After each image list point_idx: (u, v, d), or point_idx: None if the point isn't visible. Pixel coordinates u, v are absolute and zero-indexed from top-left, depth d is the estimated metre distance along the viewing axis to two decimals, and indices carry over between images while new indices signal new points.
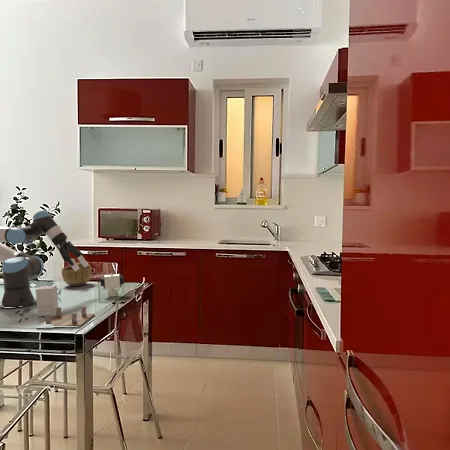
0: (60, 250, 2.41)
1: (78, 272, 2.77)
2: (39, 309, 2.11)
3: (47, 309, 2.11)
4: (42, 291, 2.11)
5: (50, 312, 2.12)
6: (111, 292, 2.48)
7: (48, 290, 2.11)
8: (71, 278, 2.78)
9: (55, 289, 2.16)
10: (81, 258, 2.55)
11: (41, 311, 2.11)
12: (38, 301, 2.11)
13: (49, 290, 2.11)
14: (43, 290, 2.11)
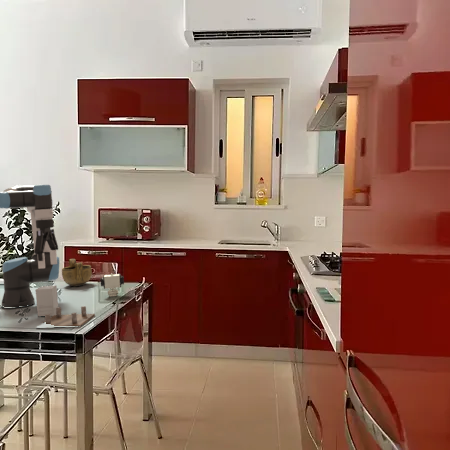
0: (38, 238, 2.07)
1: (78, 272, 2.77)
2: (39, 309, 2.11)
3: (47, 309, 2.11)
4: (42, 291, 2.11)
5: (50, 312, 2.12)
6: (111, 292, 2.48)
7: (48, 290, 2.11)
8: (71, 278, 2.78)
9: (55, 289, 2.16)
10: (54, 253, 2.21)
11: (41, 311, 2.11)
12: (38, 301, 2.11)
13: (49, 290, 2.11)
14: (43, 290, 2.11)
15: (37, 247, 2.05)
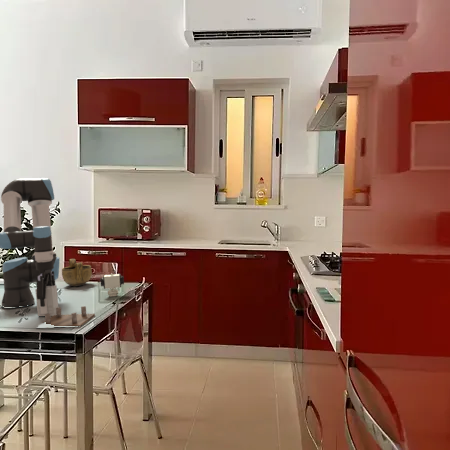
0: (38, 284, 2.08)
1: (78, 272, 2.77)
2: (39, 309, 2.11)
3: (47, 309, 2.11)
4: None
5: (50, 312, 2.12)
6: (111, 292, 2.48)
7: (48, 290, 2.11)
8: (71, 278, 2.78)
9: (55, 289, 2.16)
10: None
11: None
12: (38, 301, 2.11)
13: (49, 290, 2.11)
14: None
15: (39, 294, 2.07)
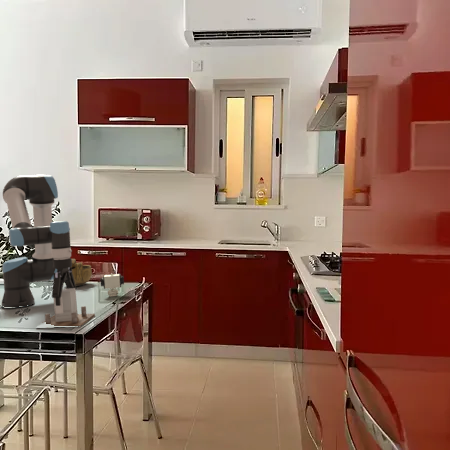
0: (55, 281, 1.92)
1: (78, 272, 2.77)
2: (56, 314, 1.97)
3: (65, 313, 1.97)
4: None
5: (68, 316, 1.97)
6: (111, 292, 2.48)
7: (66, 293, 1.96)
8: None
9: (74, 292, 2.01)
10: None
11: (58, 316, 1.97)
12: None
13: (67, 293, 1.96)
14: None
15: (54, 291, 1.90)
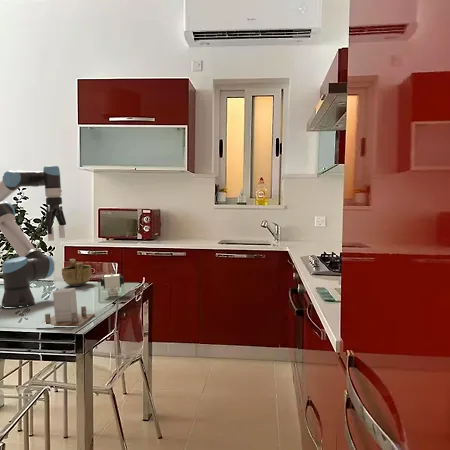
0: (47, 214, 2.32)
1: (78, 272, 2.77)
2: (56, 314, 1.97)
3: (65, 313, 1.97)
4: (59, 294, 1.96)
5: (68, 316, 1.97)
6: (111, 292, 2.48)
7: (66, 293, 1.96)
8: (71, 278, 2.78)
9: (74, 292, 2.01)
10: (62, 228, 2.46)
11: (58, 316, 1.97)
12: (55, 304, 1.97)
13: (67, 293, 1.96)
14: (61, 293, 1.96)
15: (47, 221, 2.30)
